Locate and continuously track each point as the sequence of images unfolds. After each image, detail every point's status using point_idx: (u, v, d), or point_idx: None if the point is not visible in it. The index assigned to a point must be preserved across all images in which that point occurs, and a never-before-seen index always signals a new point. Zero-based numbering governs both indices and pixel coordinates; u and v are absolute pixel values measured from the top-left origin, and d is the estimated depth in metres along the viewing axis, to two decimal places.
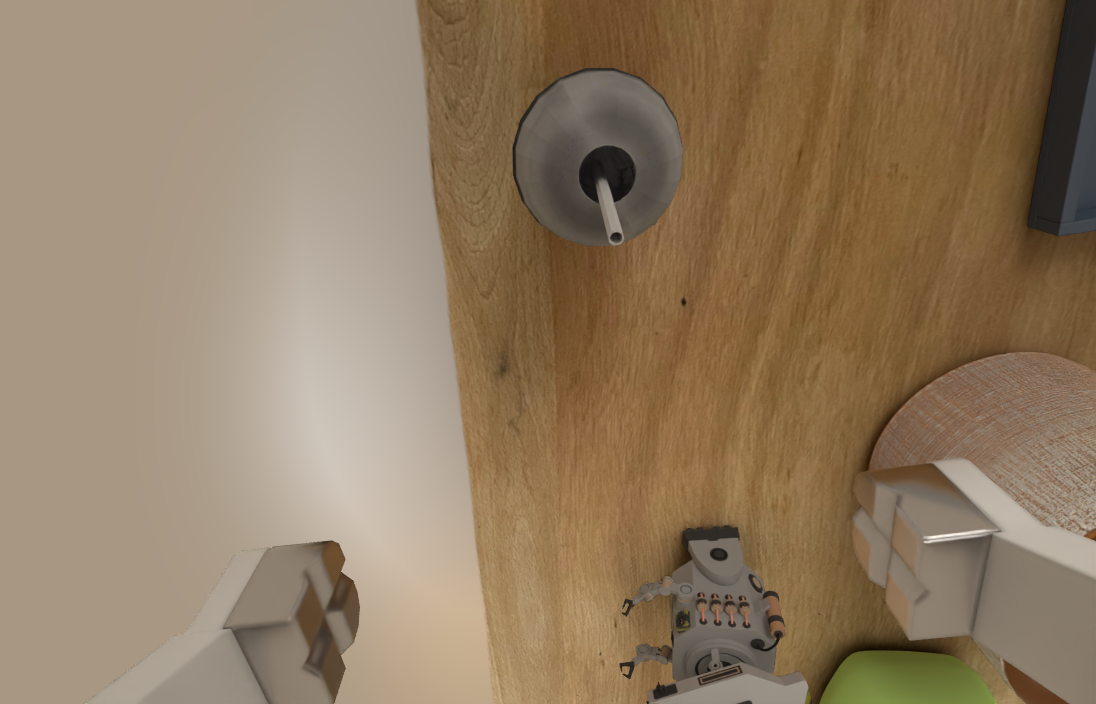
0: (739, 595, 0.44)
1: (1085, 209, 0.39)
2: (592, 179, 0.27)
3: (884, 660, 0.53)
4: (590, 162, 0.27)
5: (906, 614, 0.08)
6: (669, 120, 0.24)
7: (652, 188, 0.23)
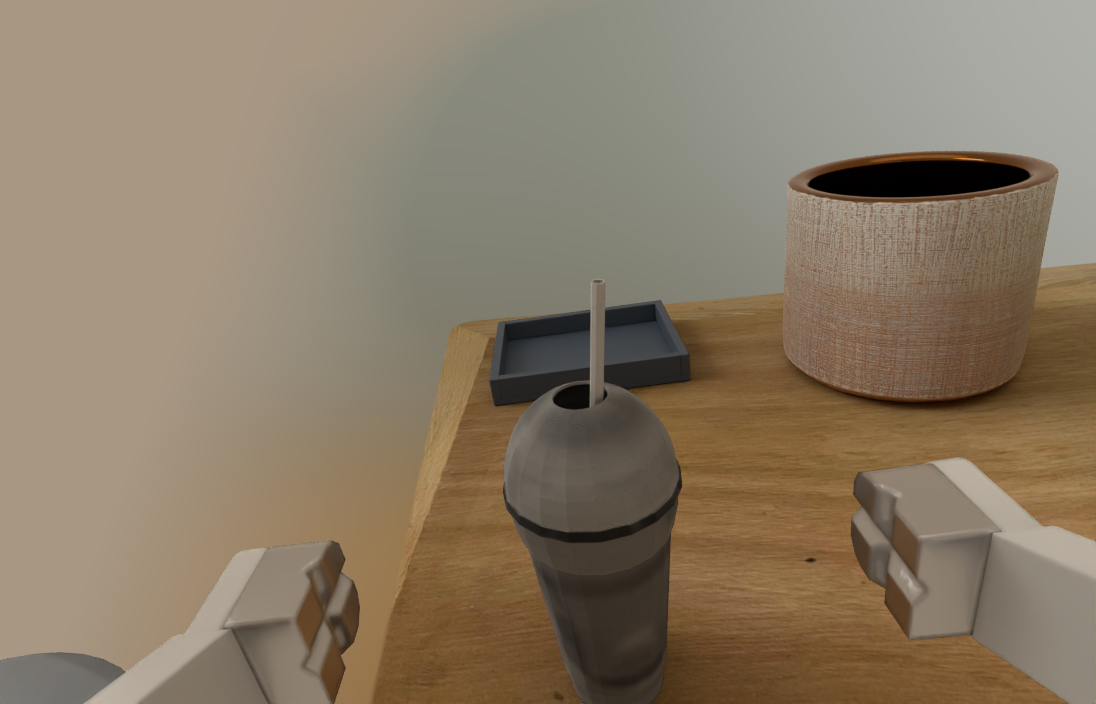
0: None
1: None
2: None
3: None
4: None
5: (907, 615, 0.08)
6: None
7: None
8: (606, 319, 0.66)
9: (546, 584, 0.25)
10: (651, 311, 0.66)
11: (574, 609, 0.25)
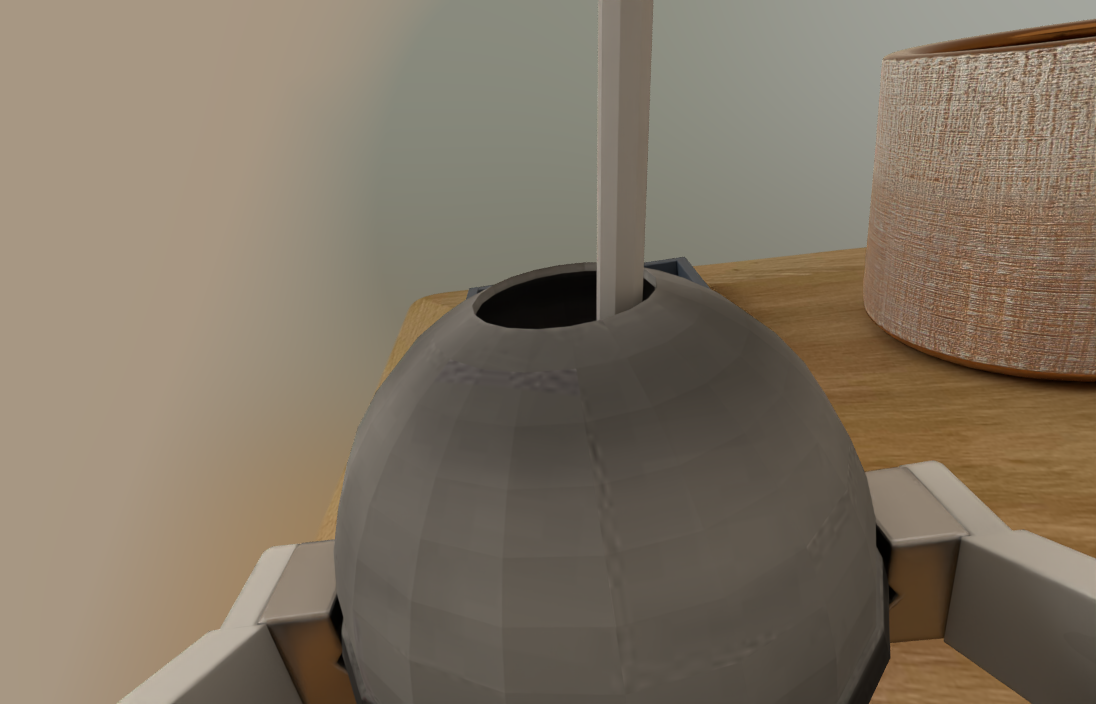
0: None
1: None
2: None
3: None
4: None
5: None
6: None
7: None
8: None
9: None
10: (672, 271, 0.49)
11: None
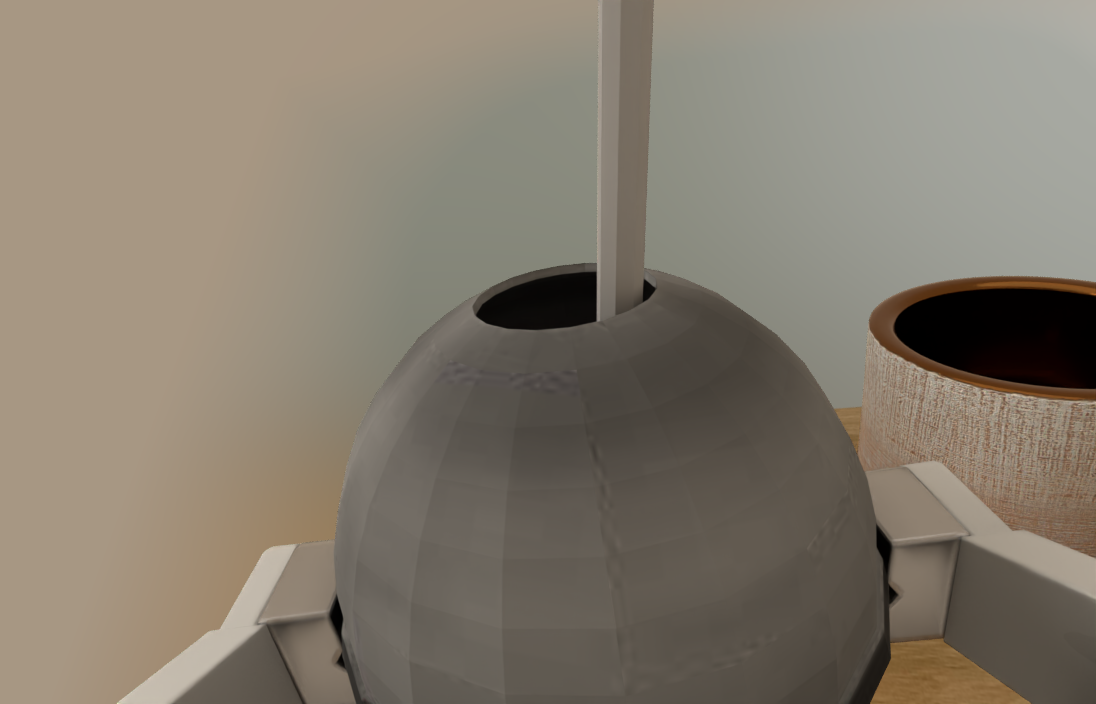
0: None
1: None
2: None
3: None
4: None
5: None
6: None
7: None
8: None
9: None
10: None
11: None
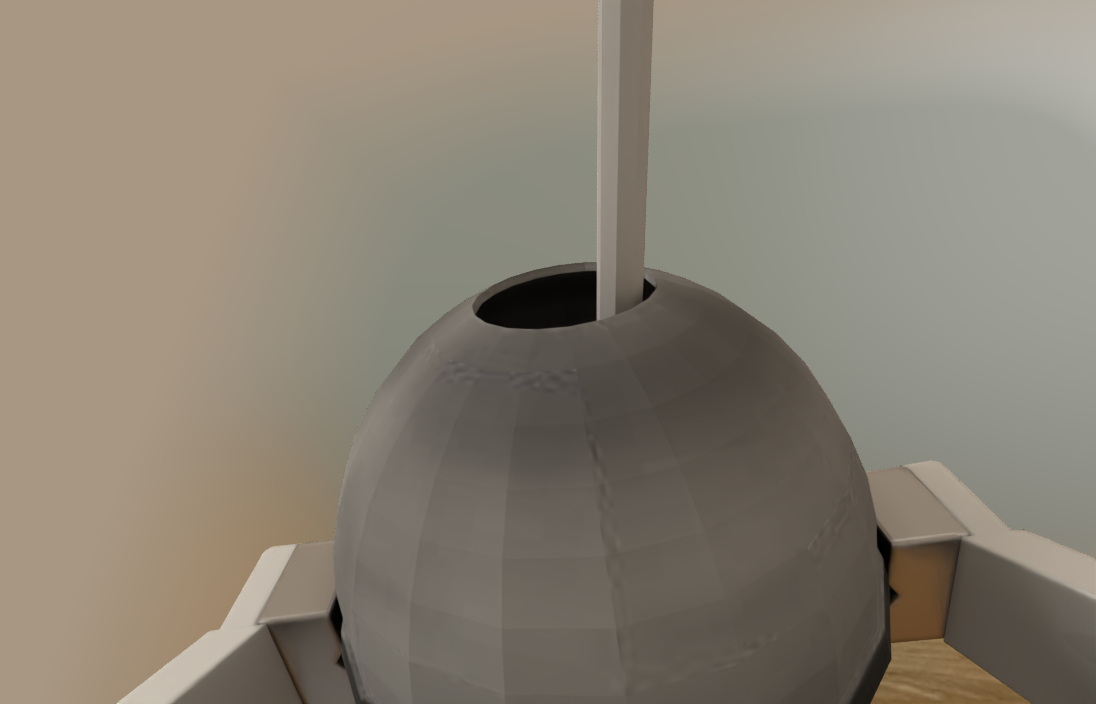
0: None
1: None
2: None
3: None
4: None
5: None
6: None
7: None
8: None
9: None
10: None
11: None
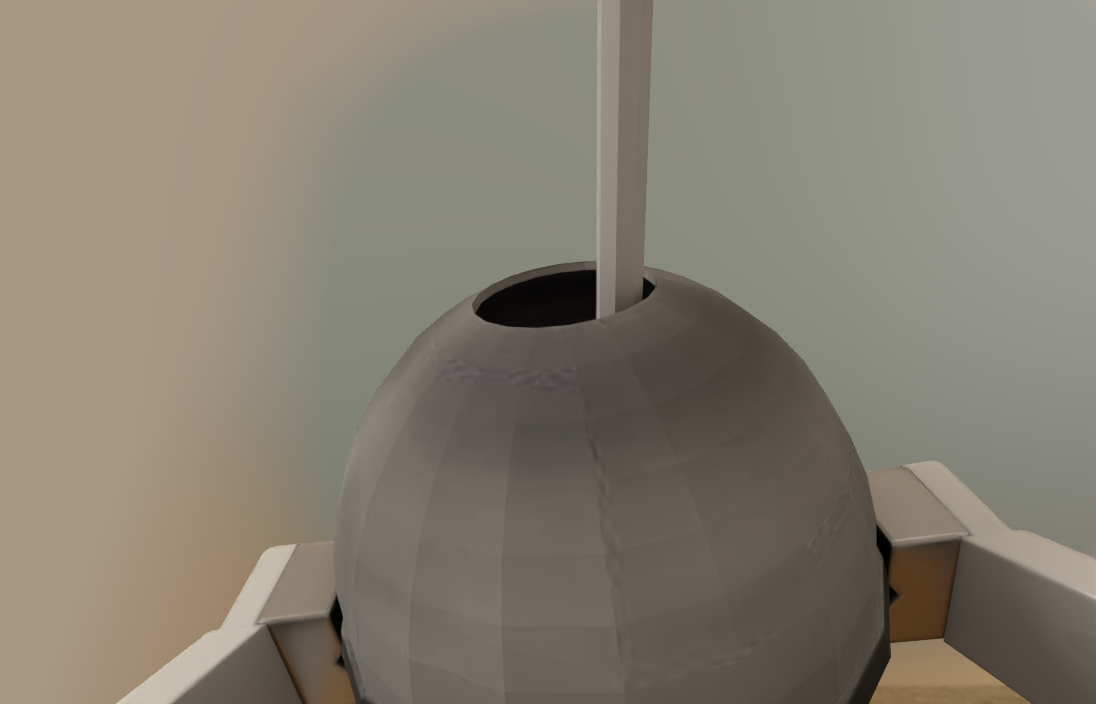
0: None
1: None
2: None
3: None
4: None
5: None
6: None
7: None
8: None
9: None
10: None
11: None
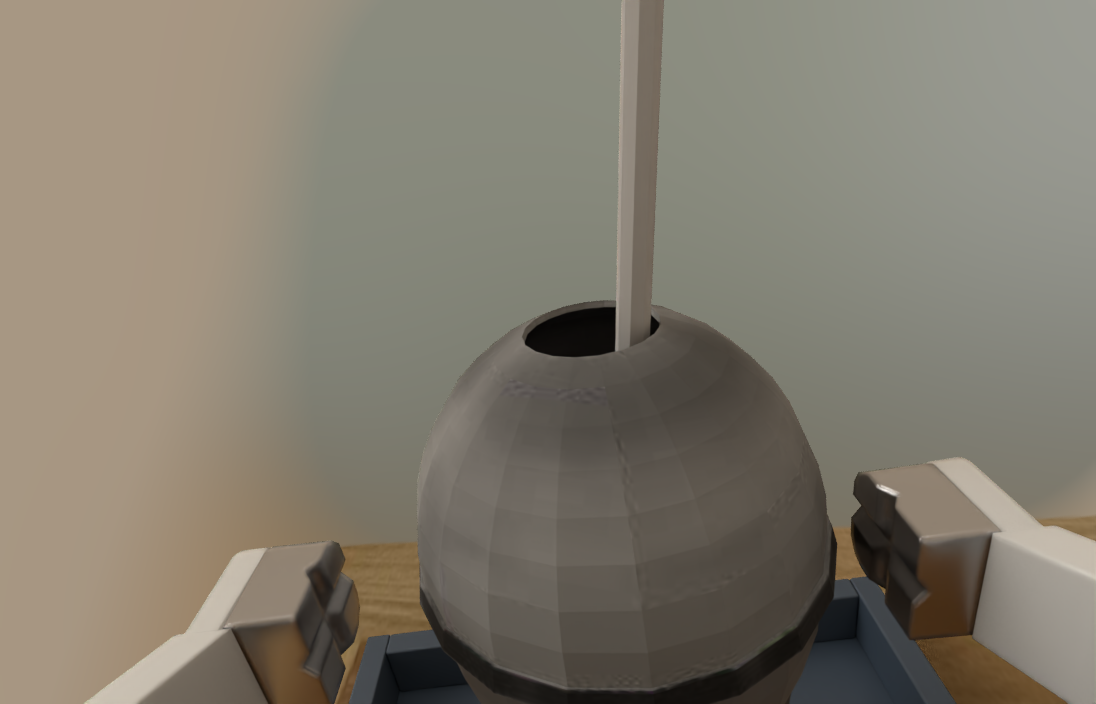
0: None
1: None
2: None
3: None
4: None
5: (906, 614, 0.08)
6: None
7: None
8: None
9: None
10: (846, 616, 0.21)
11: None
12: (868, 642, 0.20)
